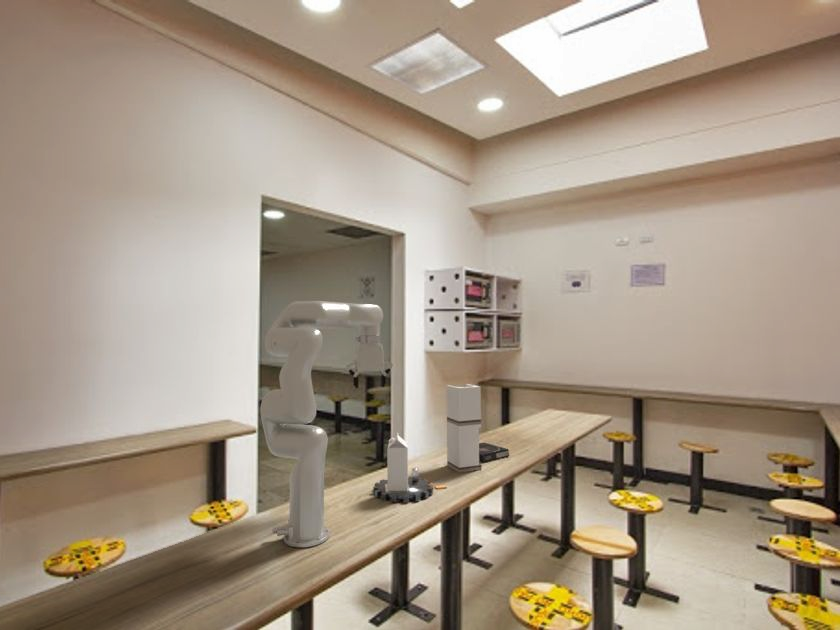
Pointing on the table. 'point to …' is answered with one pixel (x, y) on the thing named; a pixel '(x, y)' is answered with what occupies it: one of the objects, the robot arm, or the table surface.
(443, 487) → the block
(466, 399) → the banded white pillar
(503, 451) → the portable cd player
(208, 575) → the table surface
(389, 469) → the milk carton
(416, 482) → the sprocket
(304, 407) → the robot arm
